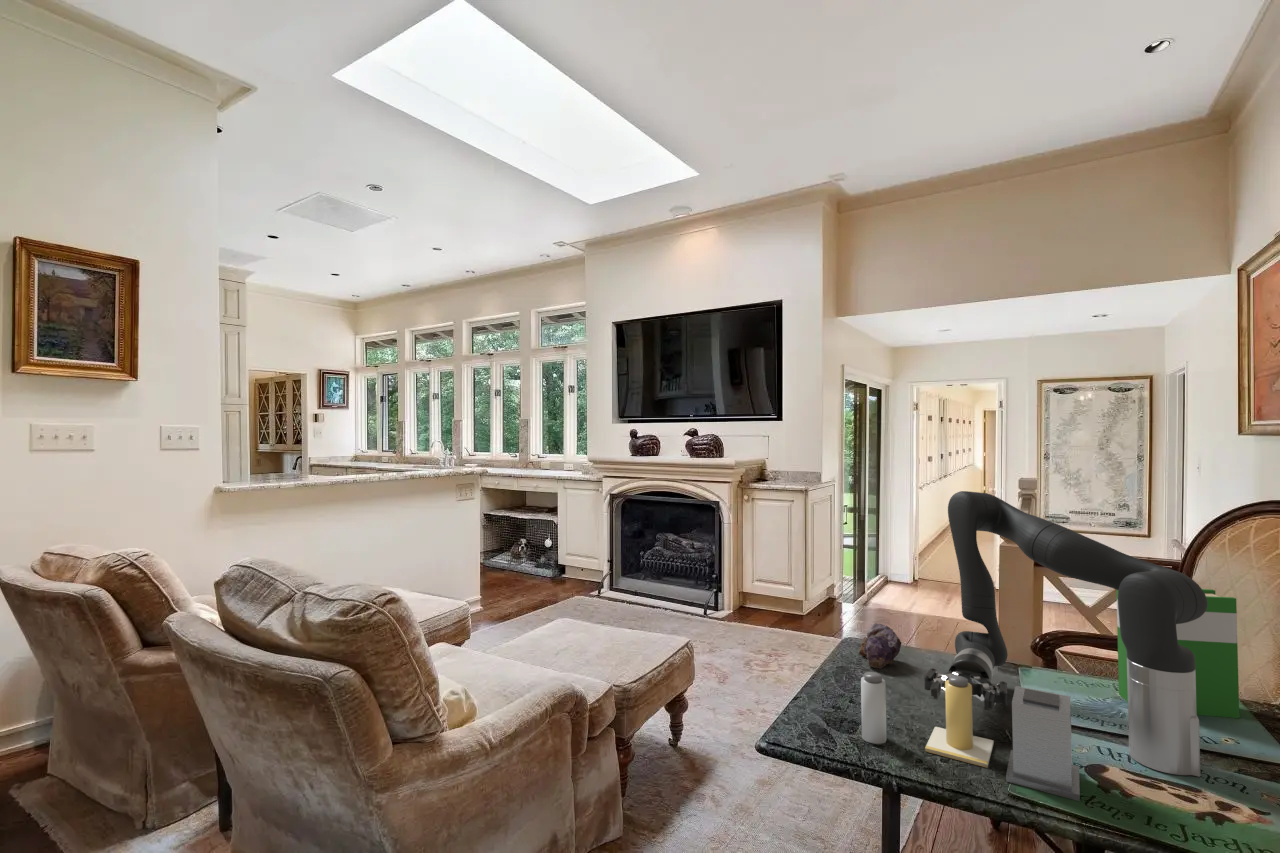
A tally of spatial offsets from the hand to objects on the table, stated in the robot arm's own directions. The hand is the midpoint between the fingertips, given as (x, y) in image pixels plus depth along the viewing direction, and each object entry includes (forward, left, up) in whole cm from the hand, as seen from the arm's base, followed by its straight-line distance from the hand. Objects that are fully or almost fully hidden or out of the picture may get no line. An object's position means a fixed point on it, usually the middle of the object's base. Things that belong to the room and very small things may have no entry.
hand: (960, 699), depth 115 cm
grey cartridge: (+14, +6, -8) cm, 18 cm away
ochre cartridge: (0, +1, -8) cm, 8 cm away
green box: (-35, -43, -8) cm, 56 cm away
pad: (0, +1, -8) cm, 8 cm away
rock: (+23, -35, -9) cm, 42 cm away
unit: (-13, +4, -8) cm, 16 cm away
